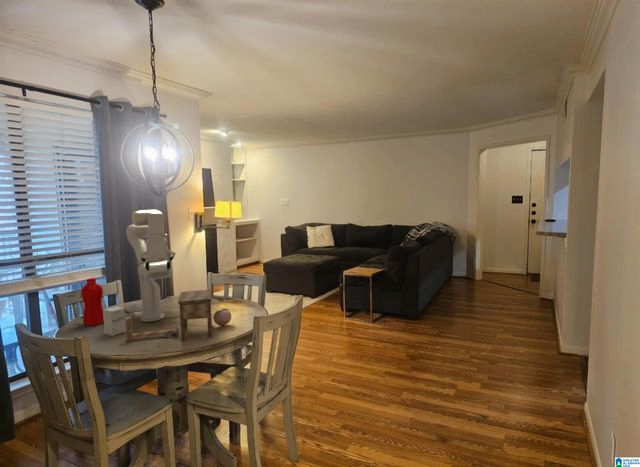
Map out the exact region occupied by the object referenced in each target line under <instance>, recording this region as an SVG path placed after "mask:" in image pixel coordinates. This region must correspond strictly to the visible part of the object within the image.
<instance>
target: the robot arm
mask: <svg viewBox="0 0 640 467" xmlns="http://www.w3.org/2000/svg"><path fill="white" fill-rule="evenodd" d="M164 220H165V216H164V213H162V211H160V210H158V209H140V210H137V211H133V212H132V215H131V222H132V224H129V225H128V226H127V227H126V237H127V241H128V242H129V244H130V245H131V246H132V248H133V249H134V251H135V256H136V259H137V262H138V264H139V266H138V268H137V271H138V277H139V281H140V290H141V305H142V311H140V312H139V311H137V312H134V313H133V314H134V316H135V317H139V320H140V321H141V322H146V323H148V322H156V321H160V320H162V319H164V318H165V313H162V305H161V303H162V301H161V288H160V285H159V284H158V282H156V281H155V280H160V279H166V278H169V277H171V276H172V275H173V266H172V262H171V261H173V259H175V256H176V252H175V251H172V250H169V245H168V240H167V238H168V234H167V233H165V221H164ZM144 238H148V239H144ZM169 255H171V256H170V257H169Z"/></svg>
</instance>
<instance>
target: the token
mask: <svg viewBox="0 0 640 467" xmlns="http://www.w3.org/2000/svg"><path fill="white" fill-rule="evenodd" d="M164 335H165V338H173V337H174V334H164Z"/></svg>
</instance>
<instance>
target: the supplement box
mask: <svg viewBox="0 0 640 467" xmlns="http://www.w3.org/2000/svg"><path fill="white" fill-rule="evenodd" d="M125 311H126V310H125V307H123V306H122V307H121V306H118V305H117V306H116V305H115V306H112V307H108V308H103V319H104V323H103V329H104V330H103V332H104V334H105V335H107V334H108V336H110V335H111V337H114V336H116V335H117V336H118V335H119V334H123V333H126V322H125V318H126V312H125Z"/></svg>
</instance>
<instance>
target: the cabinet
mask: <svg viewBox="0 0 640 467" xmlns="http://www.w3.org/2000/svg"><path fill="white" fill-rule="evenodd" d="M177 304H178V305H179V318H180V337H181V338H180V339H181V342H183V341H186V339H187V338H186V330H188V320H189V321H190V320H199V319H206V320H207V323H206V324H207V338H208V339H211V338H213V331H212V330H213V329H212V328H213V327H212V326H213V324H212V323H213V322H212V321H213V320H212V319H213V318H212V289H201V290H188V291H180V294H179V297H178V300H177Z"/></svg>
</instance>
